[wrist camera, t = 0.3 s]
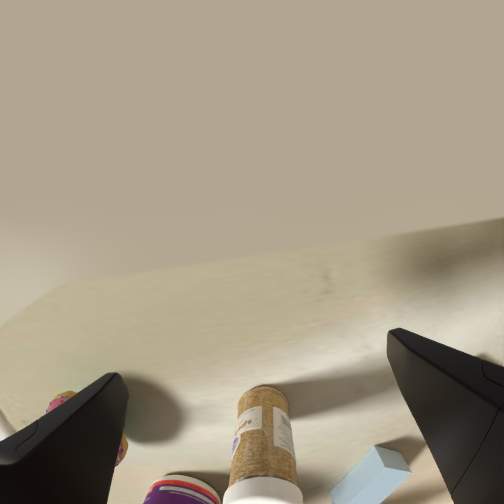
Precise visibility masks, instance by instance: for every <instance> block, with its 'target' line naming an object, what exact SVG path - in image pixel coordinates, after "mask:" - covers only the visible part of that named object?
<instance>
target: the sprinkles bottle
mask: <svg viewBox="0 0 504 504" xmlns="http://www.w3.org/2000/svg"><path fill="white" fill-rule="evenodd" d="M223 504H304V503H303V496H302V492H301V491H300V489H299V486H298V481H297V474H296V459H295V452H294V445H293V438H292V430H291V424H290V419H289V417H288V401H287V399H286V397H285V396H284V395H283V394H282V393H281V392H280V391H278V390H276V389H274V388H271V387H267V386H264V387H256V388H254V389H251V390H249V391H247V392H246V393H244V395H243V396H242V397H241V398H240V400H239V402H238V418H237V423H236V428H235V436H234V444H233V452H232V465H231V471H230V481H229V487H228V488H227V490H226V492H225V494H224V498H223Z"/></svg>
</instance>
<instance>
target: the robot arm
mask: <svg viewBox="0 0 504 504" xmlns="http://www.w3.org/2000/svg"><path fill="white" fill-rule="evenodd" d="M387 357H388V360H389V362H390V365H391V367H392V370H393V373H394V375H395V378H396V380H397V383H398V386H399V388H400V391H401V393H402V395H403V397H404V400H405V401H406V403H407V405H408V407H409V409H410V411H411V413H412V415H413V417H414V419H415V421H416V423H417V425H418V427H419V429H420V431H421V433H422V435H423V437H424V439H425V441H426V443H427V445H428V447H429V449H430V451H431V453H432V455H433V457H434V460H435V462H436V464H437V466H438V468H439V470H440V473H441V475H442V477H443V479H444V481H445V484H446V486H447V488H448V490H449V493H450V494H451V498H452V500H453V502H454V504H504V367H502V366H499V365H497V364H494V363H491V362H488V361H486V360H483V359H482V360H481V359H480V358H477V357H475V356H472V355H470V354H467V353H464V352H462V351H459V350H456V349H454V348H451V347H449V346H446V345H443V344H441V343H438V342H436V341H433V340H431V339H428V338H425V337H423V336H420V335H418V334H415V333H413V332H410V331H407V330H405V329H402V328H396V329H392V330H389V332H388V334H387ZM128 399H129V392H128V389H127V387H126V385H125V383H124V381H123V379H122V377H121V376H120V374H119V373H117V372H114V373H106V374H105V375H104V376H102V377H101V378H99V379H98V380H96V381H95V382H93V383H92V384H90V385H89V386H87V387H86V388H84V389H83V390H81V391H80V392H78V393H77V394H75V395H74V396H72V397H71V398H69V399H68V400H66V401H65V402H63V403H62V404H60V405H59V406H57V407H56V408H54V409H53V410H51V411H50V412H48V413H47V414H45V415H44V416H42V417H41V418H39V420H36V421H34V422H33V423H31V424H30V425H28V426H27V427H25V428H23V429H22V430H20V431H18V432H17V433H15V434H13V435H11V436H9V437H8V438H6V439H4V440H2V441H0V504H107V501H108V496H109V491H110V486H111V482H112V477H113V473H114V468H115V464H116V460H117V456H118V452H119V448H120V444H121V440H122V436H123V431H124V426H125V419H126V412H127V405H128Z"/></svg>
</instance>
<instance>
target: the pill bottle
mask: <svg viewBox="0 0 504 504" xmlns="http://www.w3.org/2000/svg"><path fill="white" fill-rule="evenodd" d="M143 504H221V502H220V498H219V496H218V494H217V493H216V491H215V490H214V489H213V488H211V487H210V486H209V485H207V484H206V483H204V482H202V481H201V480H198V479H196V478H192V477H188V476H183V475H167V476H162V477H160V478H158V479H156V480H155V481H154V482H153V483H152V485H151V487H150V489H149V492H148V494H147V496H146V499H145V501H144V503H143Z"/></svg>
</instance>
